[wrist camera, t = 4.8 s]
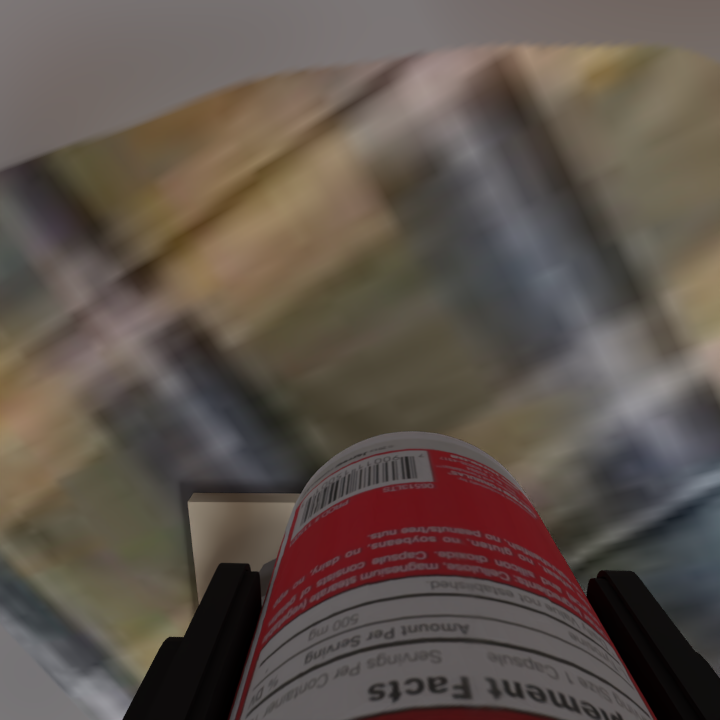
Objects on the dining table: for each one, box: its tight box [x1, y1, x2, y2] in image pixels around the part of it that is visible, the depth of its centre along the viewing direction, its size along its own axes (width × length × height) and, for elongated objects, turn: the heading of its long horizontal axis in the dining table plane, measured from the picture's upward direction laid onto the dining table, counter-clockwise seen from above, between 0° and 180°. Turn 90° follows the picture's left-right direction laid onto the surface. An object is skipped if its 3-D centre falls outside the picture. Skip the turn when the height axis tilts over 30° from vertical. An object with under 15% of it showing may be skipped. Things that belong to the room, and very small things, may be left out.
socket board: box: [188, 493, 300, 606], centre depth 29 cm, size 16×16×4 cm
